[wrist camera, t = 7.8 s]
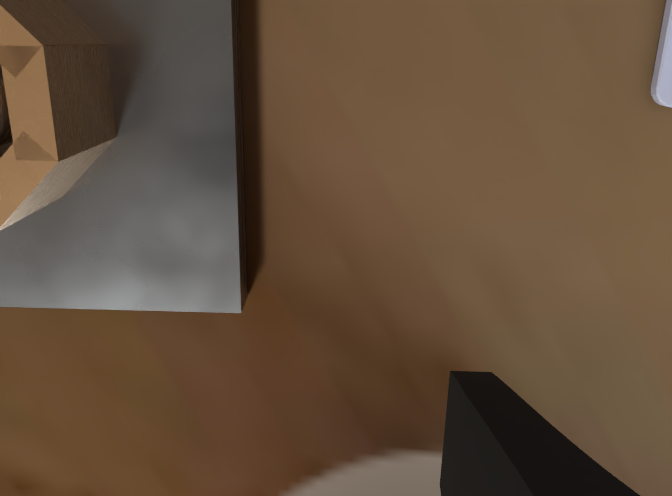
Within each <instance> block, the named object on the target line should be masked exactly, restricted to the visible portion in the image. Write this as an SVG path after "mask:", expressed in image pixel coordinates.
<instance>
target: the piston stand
mask: <svg viewBox="0 0 672 496" xmlns="http://www.w3.org/2000/svg"><path fill="white" fill-rule="evenodd" d="M62 1H63V2H64V3H65V4H66V5H67V6H68V7H69V8H70V9H71V10H72V11H73V12H74V13H75V14H76V15H77V16H78V17H79V18H80V19H81V20H82V21H83V22H85V23H86V24H87V25H88V26H89V27H90V28H91V29H92V30H93V31H94V32H95V33H96V34H97V35H98V36H99V37H100V38H101V39H102V40H103V41H104V42H105V43H106V45H107V49H108V59H109V69H110V79H111V89H112V99H113V109H114V119H115V129H116V138H115V139H114V140H113V142H112V143H111V144H110V145H109V146H108V147H107V148H106V149H105V150H104V151H103V153H102V154H101V155H100V156H99V157H98V158H97V159H96V160H95V161H94V162H93V164H92V165H91V166H90V167H89V168H88V169H87V170H86V171H85V172H84V174H83V175H82V176H81V177H80V178H79V179H78V180H77V181H76V182H75V183H74V185H73V186H72V187H71V188H70V189H69V190H68V191H67V192H66V193H65V194H64V196H63V197H61V198H59V199H57V200H55V201H54V202H52V203H50V204H48V205H46V206H44V207H43V208H41V209H39V210H37V211H35V212H33V213H32V214H30V215H28V216H26V217H24V218H23V219H21V220H19V221H17V222H15V223H13V224H12V225H10V226H8V227H6V228H4V229H2V230H1V231H0V307H34V308H71V309H109V310H146V311H184V312H221V313H241V312H242V310H243V307H244V305H245V302H246V299H247V297H248V291H247V256H246V221H245V186H244V151H243V116H242V81H241V46H240V11H239V0H62ZM12 144H13V139H12V132H11V126H10V119H9V113H8V106H7V100H6V93H5V87H4V80H3V74H2V67H1V64H0V158H1V157H2V156H3V154H4V153H5V152H6V151H7V150H8V149H9V147H10V146H11V145H12Z"/></svg>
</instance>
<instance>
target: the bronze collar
mask: <svg viewBox="0 0 672 496" xmlns="http://www.w3.org/2000/svg"><path fill="white" fill-rule="evenodd" d="M0 64H1V67H2V74H3V80H4V87H5V93H6V100H7V106H8V113H9V119H10V126H11V132H12V139H13V144H12V145H11V146H10V147H9V149H8V150H7V151H6V152H5V153H4V154H3V156H2V157H1V158H0V231H1V230H2V229H4V228H6V227H8V226H10V225H12V224H13V223H15V222H17V221H19V220H21V219H23V218H24V217H26V216H28V215H30V214H32V213H33V212H35V211H37V210H39V209H41V208H43V207H44V206H46V205H48V204H50V203H52V202H54V201H55V200H57V199H59V198H61V197H63V196H64V194H65V193H66V192H67V191H68V190H69V189H70V188H71V187H72V186H73V185H74V183H75V182H76V181H77V180H78V179H79V178H80V177H81V176H82V175H83V174H84V172H85V171H86V170H87V169H88V168H89V167H90V166H91V165H92V164H93V162H94V161H95V160H96V159H97V158H98V157H99V156H100V155H101V154H102V153H103V151H104V150H105V149H106V148H107V147H108V146H109V145H110V144H111V143H112V142H113V140H114V139H115V138H116V129H115V119H114V109H113V99H112V89H111V79H110V69H109V59H108V49H107V45H106V43H105V42H104V41H103V40H102V39H101V38H100V37H99V36H98V35H97V34H96V33H95V32H94V31H93V30H92V29H91V28H90V27H89V26H88V25H87V24H86V23H85V22H83V21H82V20H81V19H80V18H79V17H78V16H77V15H76V14H75V13H74V12H73V11H72V10H71V9H70V8H69V7H68V6H67V5H66V4H65V3H64V2H63V1H62V0H0Z"/></svg>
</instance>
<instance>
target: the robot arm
mask: <svg viewBox="0 0 672 496" xmlns="http://www.w3.org/2000/svg"><path fill="white" fill-rule="evenodd" d="M651 95H652V97H653V99H654V101H655V102H657V103H658V104H659V105H663V106H667V107H672V0H666V6H665V11H664V17H663V23H662V28H661V34H660V39H659V45H658V50H657V56H656V62H655V67H654V73H653V78H652V84H651ZM440 488H441V496H640V495H638V494H637V493H636V492H634V491H633V490H632V489H630V488H629V487H628V486H626V485H625V484H624V483H622V482H621V481H620V480H618V479H617V478H616V477H614V476H613V475H612V474H611V473H609V472H608V471H607V470H605V469H604V468H603V467H602V466H600V465H599V464H598V463H597V462H595V461H594V460H593V459H592V458H590V457H589V456H588V455H587V454H585V453H584V452H583V451H582V450H581V449H579V448H578V447H577V446H576V445H575V444H573V443H572V442H571V441H570V440H569V439H567V438H566V437H565V436H564V435H563V434H562V433H560V432H559V431H558V430H557V429H556V428H555V427H553V426H552V425H551V424H550V423H549V422H548V421H547V420H545V419H544V418H543V417H542V416H541V415H540V414H539V413H538V412H536V411H535V410H534V409H533V408H532V407H531V406H530V405H529V404H527V403H526V402H525V401H524V400H523V399H522V398H521V397H520V396H518V395H517V394H516V393H515V392H514V391H513V390H512V389H511V388H510V387H508V386H507V385H506V384H505V383H504V382H503V381H502V380H500V379H499V378H498V377H497V376H496V375H494V374H493V373H492V372H467V371H450V378H449V390H448V401H447V412H446V423H445V434H444V445H443V456H442V467H441V478H440Z"/></svg>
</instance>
